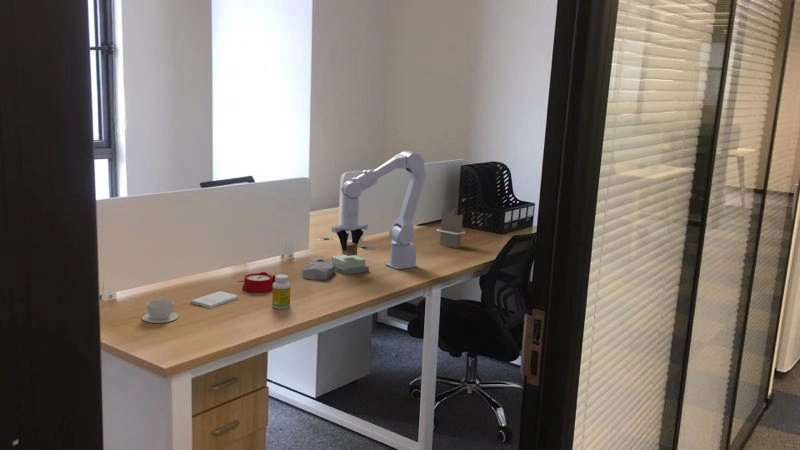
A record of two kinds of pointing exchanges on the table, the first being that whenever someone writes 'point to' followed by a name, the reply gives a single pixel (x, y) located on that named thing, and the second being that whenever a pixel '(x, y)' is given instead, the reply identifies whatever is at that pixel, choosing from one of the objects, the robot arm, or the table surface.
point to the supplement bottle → (281, 292)
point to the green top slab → (348, 261)
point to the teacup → (160, 311)
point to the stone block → (319, 271)
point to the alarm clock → (258, 282)
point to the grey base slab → (350, 269)
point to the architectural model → (451, 230)
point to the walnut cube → (350, 249)
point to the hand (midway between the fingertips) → (349, 249)
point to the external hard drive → (214, 299)
